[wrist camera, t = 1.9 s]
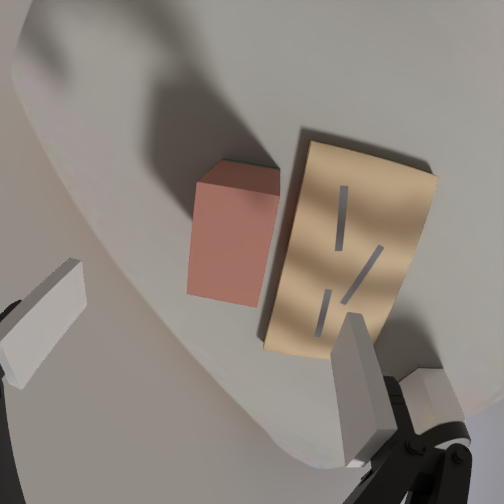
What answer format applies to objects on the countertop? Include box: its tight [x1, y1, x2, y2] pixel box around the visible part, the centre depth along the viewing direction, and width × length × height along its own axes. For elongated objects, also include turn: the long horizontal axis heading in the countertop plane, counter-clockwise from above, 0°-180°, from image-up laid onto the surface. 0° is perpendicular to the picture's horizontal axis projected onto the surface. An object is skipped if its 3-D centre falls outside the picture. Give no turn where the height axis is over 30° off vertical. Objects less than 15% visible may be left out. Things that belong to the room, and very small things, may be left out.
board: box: [263, 140, 439, 360], centre depth 29 cm, size 22×12×1 cm, turn 171°
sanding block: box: [187, 159, 280, 307], centre depth 24 cm, size 8×5×9 cm, turn 171°
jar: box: [399, 368, 471, 450], centre depth 31 cm, size 9×8×12 cm
